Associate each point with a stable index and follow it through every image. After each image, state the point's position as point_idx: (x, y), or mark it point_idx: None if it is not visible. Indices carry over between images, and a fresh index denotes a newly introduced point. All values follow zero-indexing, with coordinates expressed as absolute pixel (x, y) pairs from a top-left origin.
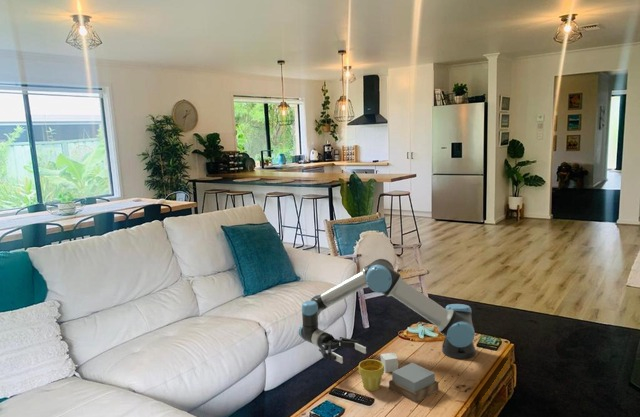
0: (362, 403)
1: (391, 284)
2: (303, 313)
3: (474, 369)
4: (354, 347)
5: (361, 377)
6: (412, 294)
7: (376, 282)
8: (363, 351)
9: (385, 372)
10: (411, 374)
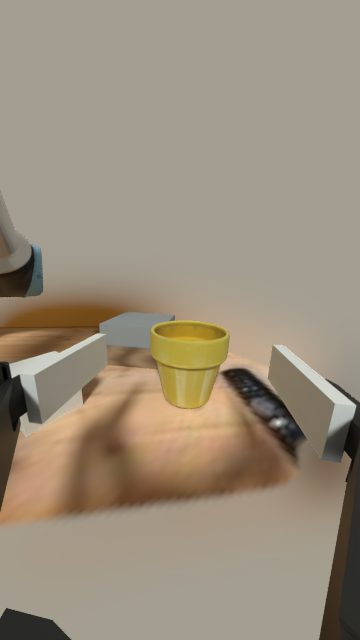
0: (255, 377)
1: None
2: None
3: (36, 332)
4: (17, 429)
5: (215, 373)
6: None
7: None
8: (102, 360)
9: (82, 404)
10: (150, 318)
